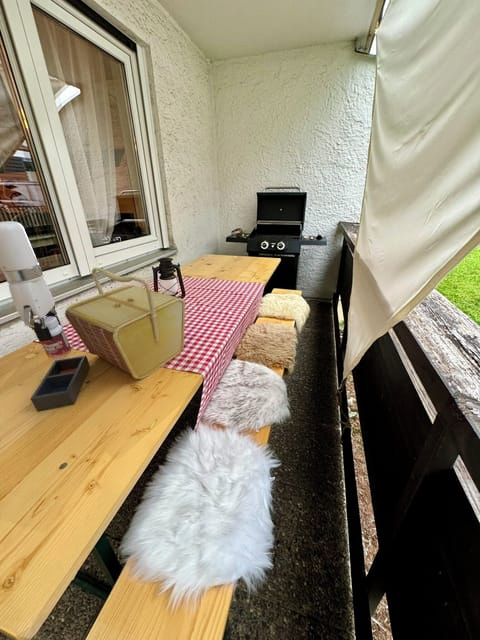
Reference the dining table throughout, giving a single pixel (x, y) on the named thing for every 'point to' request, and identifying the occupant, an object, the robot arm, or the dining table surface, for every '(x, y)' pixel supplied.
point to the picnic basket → (130, 325)
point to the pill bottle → (55, 340)
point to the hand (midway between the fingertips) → (51, 333)
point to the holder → (61, 383)
